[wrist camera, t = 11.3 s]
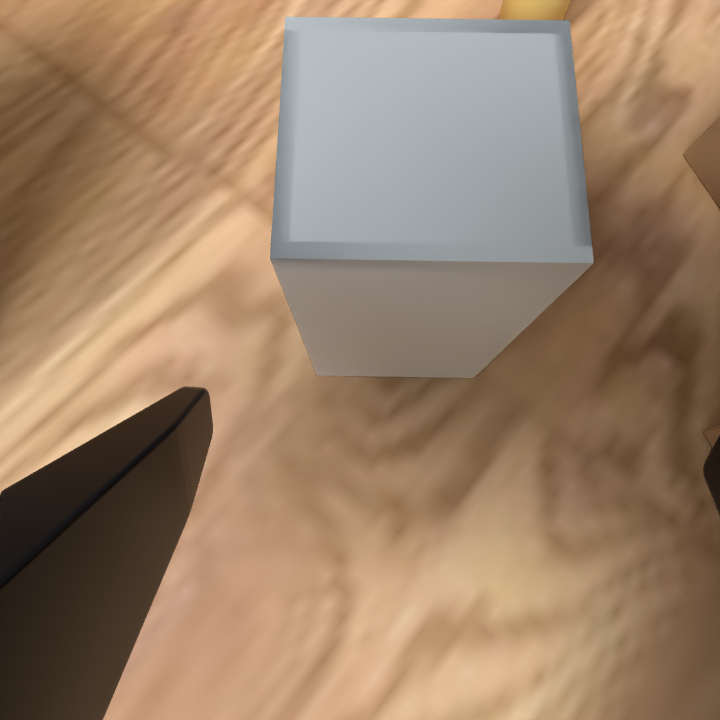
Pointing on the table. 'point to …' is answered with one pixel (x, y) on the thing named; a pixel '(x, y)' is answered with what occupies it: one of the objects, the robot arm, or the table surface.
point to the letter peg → (533, 9)
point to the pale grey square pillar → (425, 189)
